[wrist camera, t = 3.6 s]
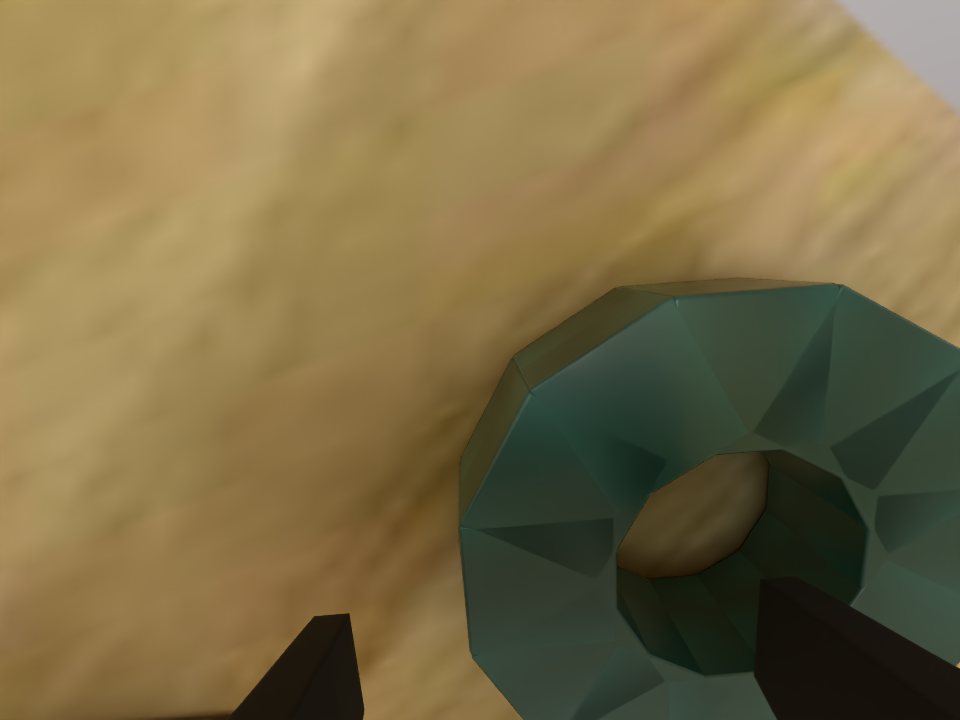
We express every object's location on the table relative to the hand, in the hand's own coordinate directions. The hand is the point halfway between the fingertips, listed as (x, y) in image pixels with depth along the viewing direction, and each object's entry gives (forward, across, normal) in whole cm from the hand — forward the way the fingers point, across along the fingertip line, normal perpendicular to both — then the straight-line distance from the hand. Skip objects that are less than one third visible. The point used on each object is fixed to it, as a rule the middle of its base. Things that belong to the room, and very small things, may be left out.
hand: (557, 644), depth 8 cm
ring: (+5, -4, 0) cm, 6 cm away
